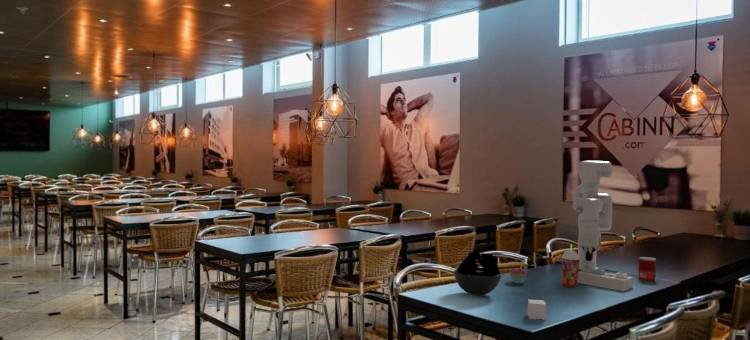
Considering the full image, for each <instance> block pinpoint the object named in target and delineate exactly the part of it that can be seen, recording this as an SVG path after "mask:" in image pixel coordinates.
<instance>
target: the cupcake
mask: <svg viewBox="0 0 750 340" xmlns="http://www.w3.org/2000/svg"><path fill="white" fill-rule="evenodd" d="M523 263H524V259H521V263H520V267H513V268H512V269H510V270H509V276H511V278H512V279H511V280H512V282H513V283H514V284H523V283H524V282H525V279H526V277H528V271H527V270H526V269H524V268H523Z"/></svg>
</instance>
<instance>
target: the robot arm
mask: <svg viewBox="0 0 750 340" xmlns="http://www.w3.org/2000/svg"><path fill="white" fill-rule="evenodd" d="M577 172H578V178H580V179H579V180H580V184H578V186H577V187H576V188H575V190H574V192H573V195H572V196H573V197H572V208H573V210H574V211H576V212H579V215H578V216H577V223H578V224H577V226H578V235H577V236H578V237H577V245H578V246H577V249H578V251H577V254H578V255H579V258H580V262H579V271H583V268H584V267H591V268H594V269H600V268H599V267H598V266H597V253H598V252H597V251H599V250H600V251H601V245H602V236H601V235H602V234H601V231H610V230H611V229H612V225H613V198H612V195H610V194H608V193H600V192H599V188H600V186H601V178H611V177H612V176H613V163H611V161H607V160H606V161H605V160H604V161H603V160H582V161H579V162H578V164H577Z"/></svg>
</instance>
